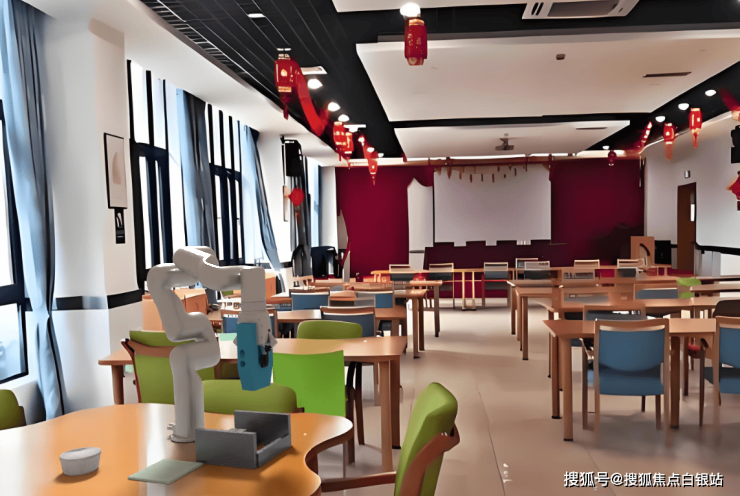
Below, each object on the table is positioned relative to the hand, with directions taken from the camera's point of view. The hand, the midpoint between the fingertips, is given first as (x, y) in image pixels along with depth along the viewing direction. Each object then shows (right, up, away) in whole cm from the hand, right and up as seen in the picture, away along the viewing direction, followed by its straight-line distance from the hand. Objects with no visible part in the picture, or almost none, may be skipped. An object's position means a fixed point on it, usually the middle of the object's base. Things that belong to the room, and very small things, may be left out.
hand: (255, 365), depth 188 cm
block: (0, -7, 0) cm, 7 cm away
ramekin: (-50, -29, -7) cm, 58 cm away
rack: (-3, -27, +2) cm, 28 cm away
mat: (-24, -28, -11) cm, 38 cm away
